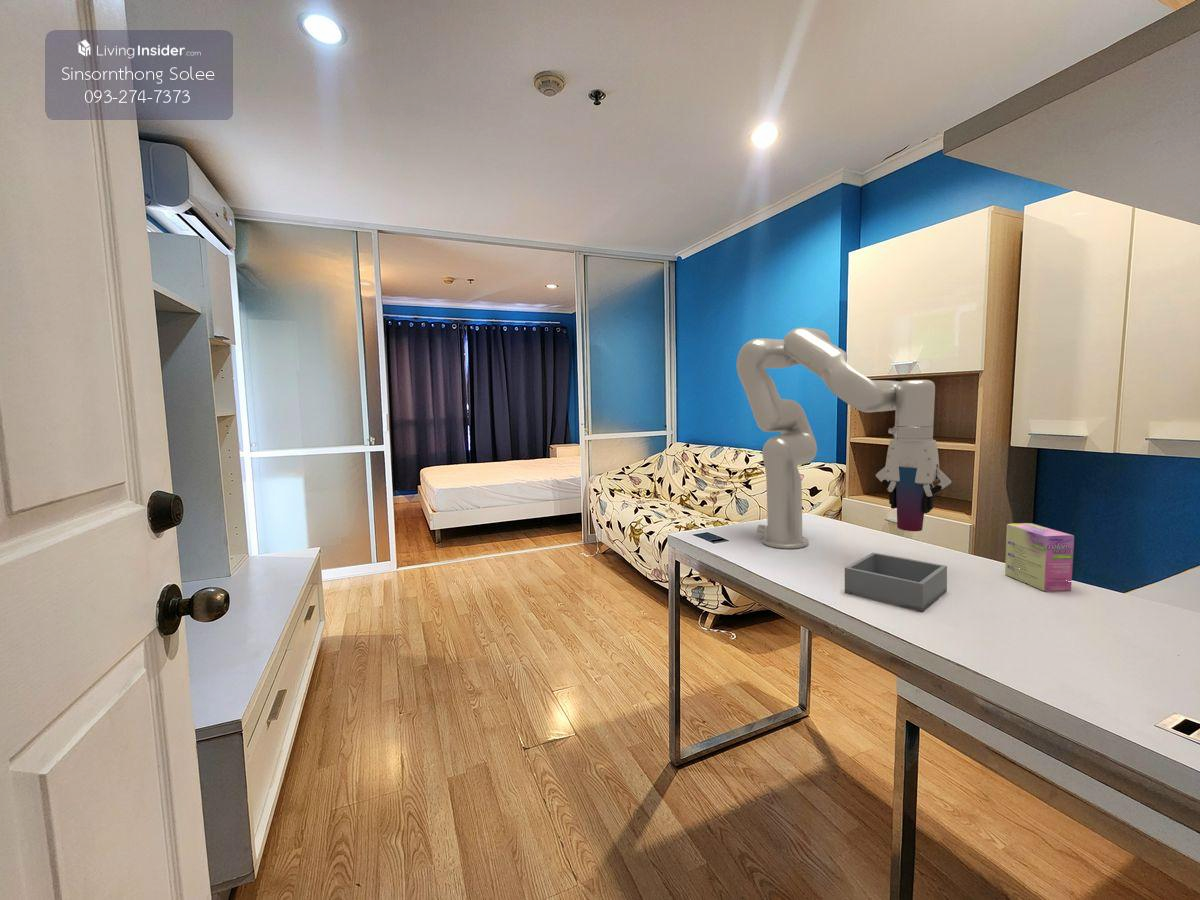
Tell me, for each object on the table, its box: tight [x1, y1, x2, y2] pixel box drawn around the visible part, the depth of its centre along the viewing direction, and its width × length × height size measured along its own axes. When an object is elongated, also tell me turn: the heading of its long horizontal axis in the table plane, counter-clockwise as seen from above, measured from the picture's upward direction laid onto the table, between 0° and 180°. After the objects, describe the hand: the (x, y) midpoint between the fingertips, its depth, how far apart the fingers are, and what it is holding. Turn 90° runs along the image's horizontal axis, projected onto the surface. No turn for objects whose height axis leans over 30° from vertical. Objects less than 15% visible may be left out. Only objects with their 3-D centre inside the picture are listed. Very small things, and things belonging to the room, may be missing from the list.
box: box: [1004, 522, 1075, 592], centre depth 107 cm, size 10×6×12 cm, turn 179°
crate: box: [844, 552, 948, 613], centre depth 106 cm, size 15×15×6 cm
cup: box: [896, 467, 925, 532], centre depth 117 cm, size 7×7×15 cm
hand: (910, 509), depth 118 cm, fingers closed on cup, 6 cm apart
